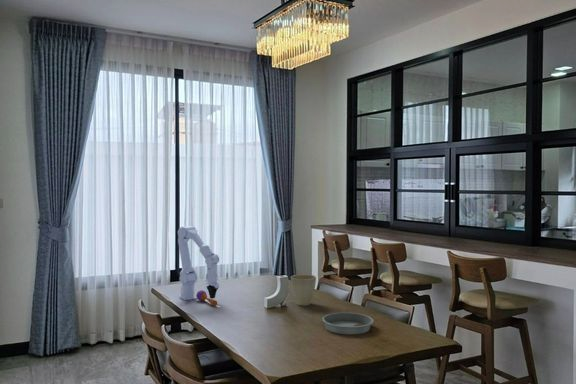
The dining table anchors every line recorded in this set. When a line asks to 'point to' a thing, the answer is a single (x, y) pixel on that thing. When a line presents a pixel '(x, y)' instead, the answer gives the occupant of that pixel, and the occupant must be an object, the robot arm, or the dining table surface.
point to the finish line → (210, 303)
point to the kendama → (205, 297)
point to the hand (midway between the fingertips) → (212, 298)
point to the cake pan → (347, 323)
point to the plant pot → (303, 288)
